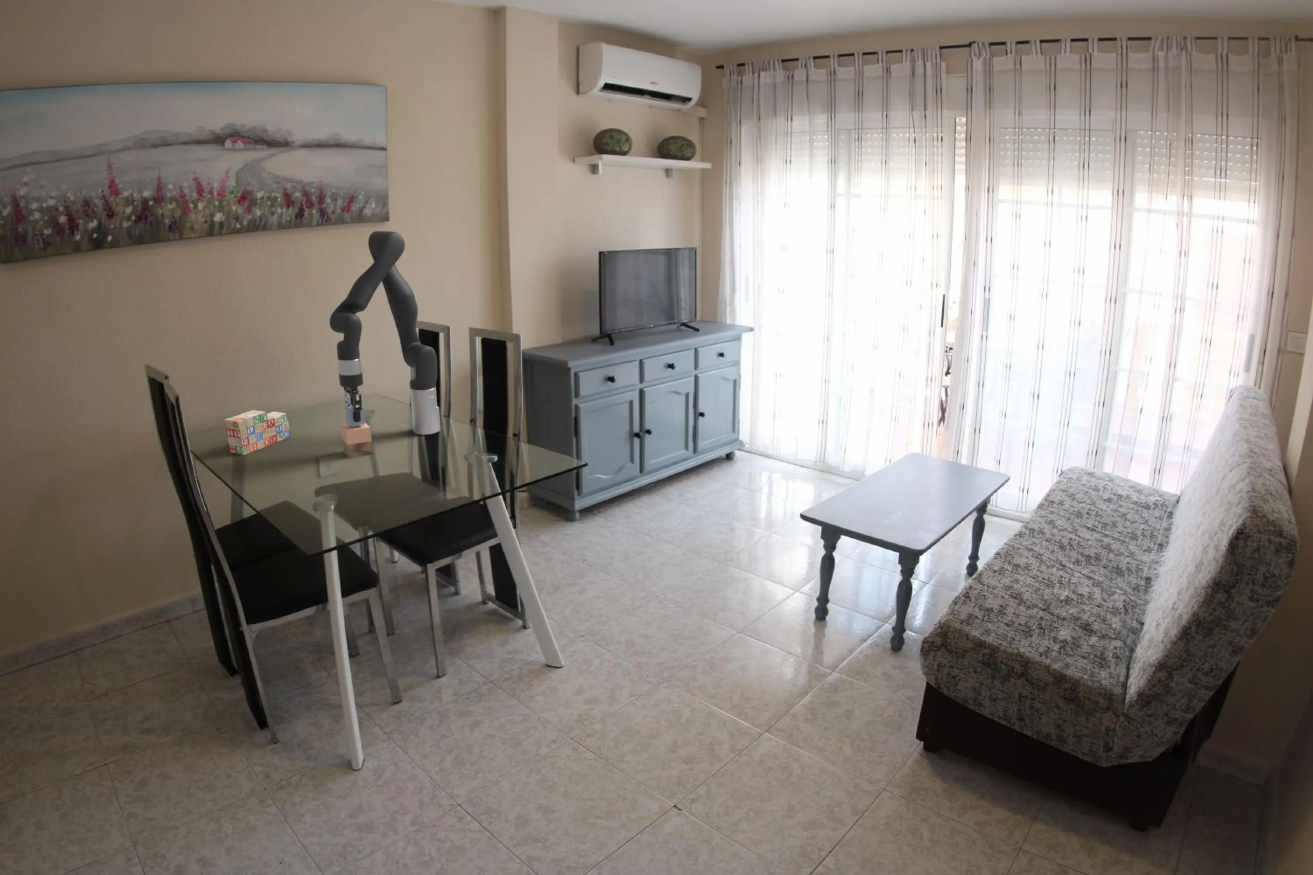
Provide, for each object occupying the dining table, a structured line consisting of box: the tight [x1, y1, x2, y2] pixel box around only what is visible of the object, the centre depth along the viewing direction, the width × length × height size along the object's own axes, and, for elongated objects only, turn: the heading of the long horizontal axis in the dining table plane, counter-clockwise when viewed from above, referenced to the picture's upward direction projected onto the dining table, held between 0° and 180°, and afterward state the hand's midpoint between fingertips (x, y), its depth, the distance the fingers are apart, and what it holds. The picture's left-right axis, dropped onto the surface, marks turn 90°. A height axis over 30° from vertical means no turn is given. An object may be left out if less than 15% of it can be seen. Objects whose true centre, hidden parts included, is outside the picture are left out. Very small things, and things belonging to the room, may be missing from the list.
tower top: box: [340, 422, 373, 445], centre depth 278 cm, size 8×8×5 cm
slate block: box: [344, 405, 366, 427], centre depth 276 cm, size 5×5×6 cm
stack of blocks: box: [224, 409, 291, 456], centre depth 284 cm, size 21×6×12 cm, turn 159°
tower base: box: [341, 438, 374, 459], centre depth 280 cm, size 8×8×5 cm
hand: (355, 419), depth 277 cm, fingers open, 5 cm apart
